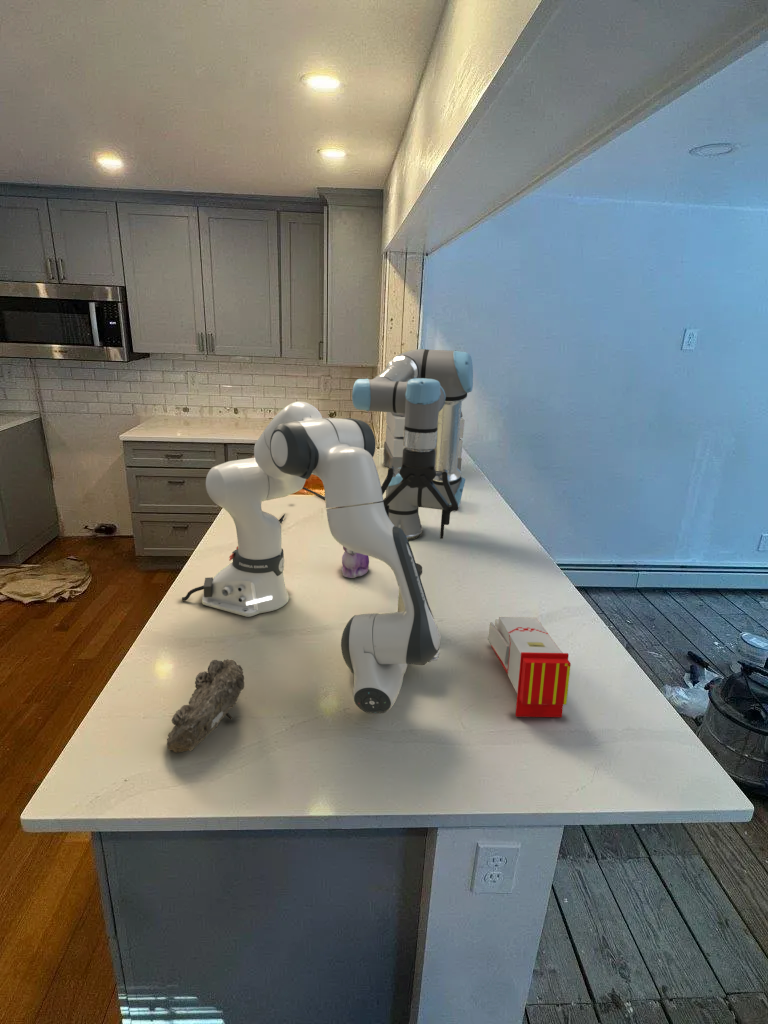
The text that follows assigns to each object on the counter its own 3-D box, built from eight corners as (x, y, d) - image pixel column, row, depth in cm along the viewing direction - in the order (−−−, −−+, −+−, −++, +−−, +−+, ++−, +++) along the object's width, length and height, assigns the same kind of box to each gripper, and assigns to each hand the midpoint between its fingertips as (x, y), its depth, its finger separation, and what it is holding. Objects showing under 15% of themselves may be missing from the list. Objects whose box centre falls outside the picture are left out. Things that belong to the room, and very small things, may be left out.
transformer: (382, 463, 289) (386, 382, 275) (445, 464, 293) (451, 384, 279) (390, 482, 257) (394, 392, 243) (460, 483, 261) (468, 394, 247)
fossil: (192, 660, 117) (244, 628, 112) (224, 691, 120) (276, 661, 115) (142, 746, 98) (202, 712, 93) (182, 779, 101) (242, 748, 96)
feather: (292, 507, 224) (294, 503, 223) (275, 531, 197) (278, 527, 197) (288, 505, 224) (291, 501, 223) (271, 528, 197) (273, 524, 197)
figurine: (347, 581, 163) (348, 533, 158) (333, 567, 172) (334, 521, 166) (376, 576, 167) (378, 528, 162) (361, 562, 176) (363, 517, 171)
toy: (534, 602, 136) (579, 659, 107) (529, 653, 139) (572, 723, 110) (484, 601, 136) (516, 658, 107) (480, 652, 139) (510, 722, 109)
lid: (395, 575, 138) (396, 569, 138) (401, 566, 143) (402, 560, 143) (419, 579, 137) (419, 573, 136) (424, 569, 142) (424, 564, 141)
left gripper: (438, 649, 116) (445, 616, 129) (342, 634, 120) (358, 603, 133) (436, 675, 118) (443, 640, 131) (342, 660, 122) (357, 627, 135)
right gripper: (473, 448, 132) (464, 532, 139) (367, 441, 134) (364, 525, 141) (474, 455, 125) (466, 544, 132) (363, 448, 127) (360, 536, 134)
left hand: (400, 621), depth 132 cm, fingers open, 8 cm apart
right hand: (413, 534), depth 137 cm, fingers open, 13 cm apart
